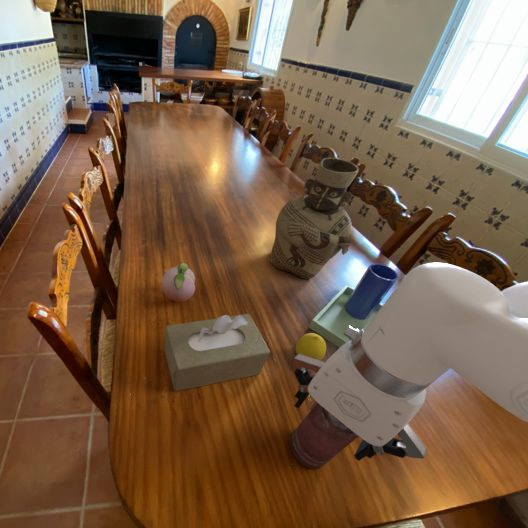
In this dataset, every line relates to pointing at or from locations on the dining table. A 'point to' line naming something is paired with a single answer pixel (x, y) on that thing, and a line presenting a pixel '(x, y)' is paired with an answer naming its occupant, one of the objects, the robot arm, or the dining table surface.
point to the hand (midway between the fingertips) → (328, 424)
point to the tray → (339, 318)
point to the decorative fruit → (179, 283)
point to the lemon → (311, 346)
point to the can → (319, 438)
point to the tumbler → (370, 291)
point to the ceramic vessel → (315, 221)
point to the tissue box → (214, 351)
